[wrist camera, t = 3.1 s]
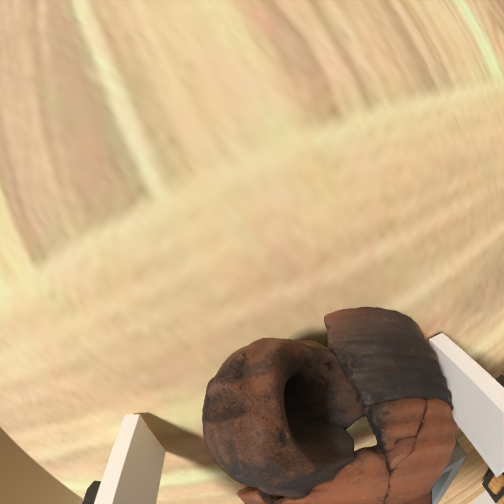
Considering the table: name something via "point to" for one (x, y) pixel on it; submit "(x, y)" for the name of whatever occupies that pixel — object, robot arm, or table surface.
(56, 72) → the table surface
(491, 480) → the ammunition clip
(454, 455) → the tray
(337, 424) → the broken brown clay pot
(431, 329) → the table surface
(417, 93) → the table surface
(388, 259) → the table surface
